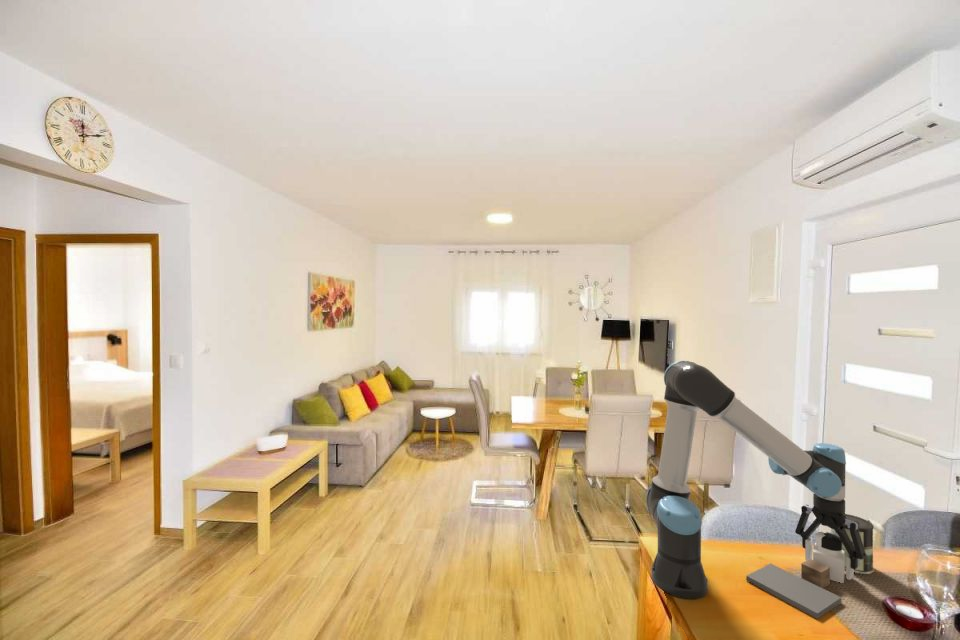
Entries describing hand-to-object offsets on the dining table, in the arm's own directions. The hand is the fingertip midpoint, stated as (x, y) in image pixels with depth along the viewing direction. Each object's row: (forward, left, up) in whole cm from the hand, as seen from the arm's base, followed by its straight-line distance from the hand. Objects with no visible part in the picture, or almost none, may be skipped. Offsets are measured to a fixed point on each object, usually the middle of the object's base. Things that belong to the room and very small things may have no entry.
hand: (828, 568), depth 128 cm
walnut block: (0, -8, -2) cm, 8 cm away
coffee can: (+1, +12, -2) cm, 12 cm away
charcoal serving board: (-1, -19, -2) cm, 19 cm away
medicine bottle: (0, 0, -2) cm, 2 cm away
